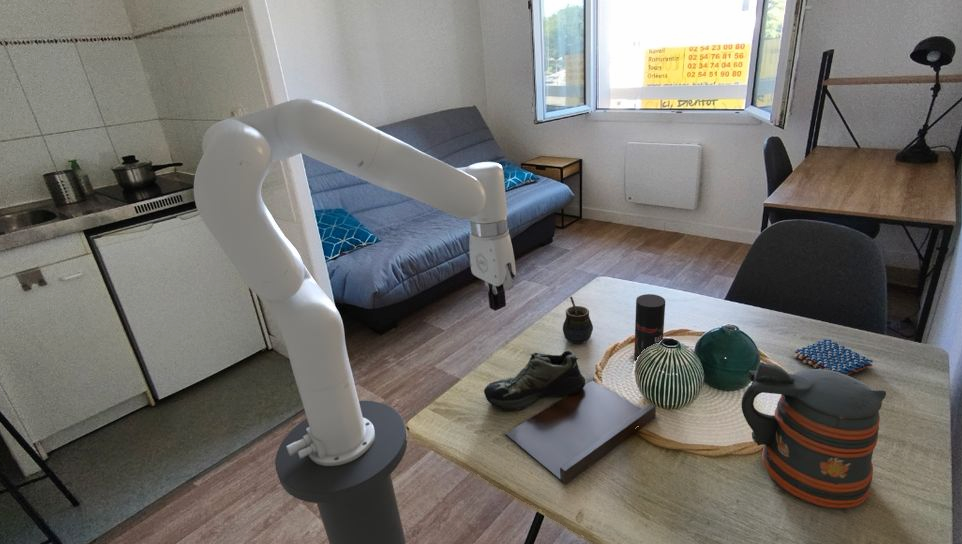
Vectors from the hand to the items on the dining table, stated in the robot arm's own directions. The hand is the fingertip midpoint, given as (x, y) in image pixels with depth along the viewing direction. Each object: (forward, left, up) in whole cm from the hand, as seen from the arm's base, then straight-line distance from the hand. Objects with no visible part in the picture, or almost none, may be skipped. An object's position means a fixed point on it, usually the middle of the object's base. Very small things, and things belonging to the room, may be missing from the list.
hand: (497, 307), depth 107 cm
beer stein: (+18, -55, -17) cm, 60 cm away
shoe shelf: (0, -24, -17) cm, 29 cm away
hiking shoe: (0, -11, -17) cm, 20 cm away
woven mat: (+53, -46, -17) cm, 72 cm away
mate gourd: (+22, -2, -17) cm, 28 cm away
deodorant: (+27, -19, -17) cm, 37 cm away
